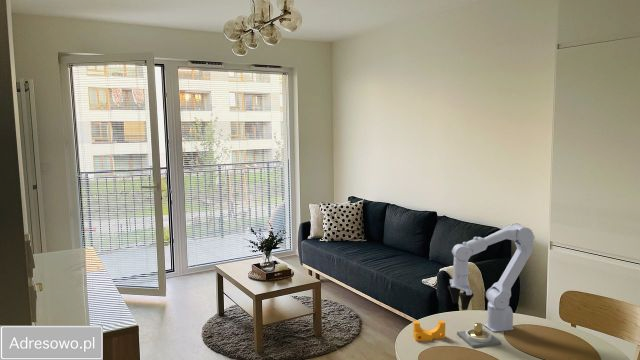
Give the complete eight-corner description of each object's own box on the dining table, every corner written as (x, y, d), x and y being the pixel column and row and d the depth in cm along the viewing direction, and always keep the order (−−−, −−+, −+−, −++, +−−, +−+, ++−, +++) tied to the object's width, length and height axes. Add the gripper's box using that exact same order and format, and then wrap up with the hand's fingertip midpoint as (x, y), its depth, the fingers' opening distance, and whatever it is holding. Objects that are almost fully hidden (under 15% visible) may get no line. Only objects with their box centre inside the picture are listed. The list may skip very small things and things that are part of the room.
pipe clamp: (415, 341, 184) (415, 325, 183) (413, 336, 188) (413, 320, 188) (446, 340, 184) (446, 324, 183) (443, 335, 188) (443, 320, 188)
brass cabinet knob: (481, 332, 188) (481, 320, 187) (489, 339, 182) (489, 327, 181) (467, 334, 187) (467, 321, 186) (474, 340, 181) (474, 328, 181)
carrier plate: (483, 331, 192) (483, 326, 192) (501, 344, 180) (501, 338, 180) (456, 334, 189) (456, 329, 189) (472, 347, 178) (472, 342, 177)
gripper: (443, 269, 199) (442, 300, 200) (460, 280, 185) (459, 313, 186) (458, 268, 200) (458, 299, 202) (476, 278, 186) (476, 312, 188)
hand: (460, 306), depth 194 cm, fingers open, 7 cm apart
